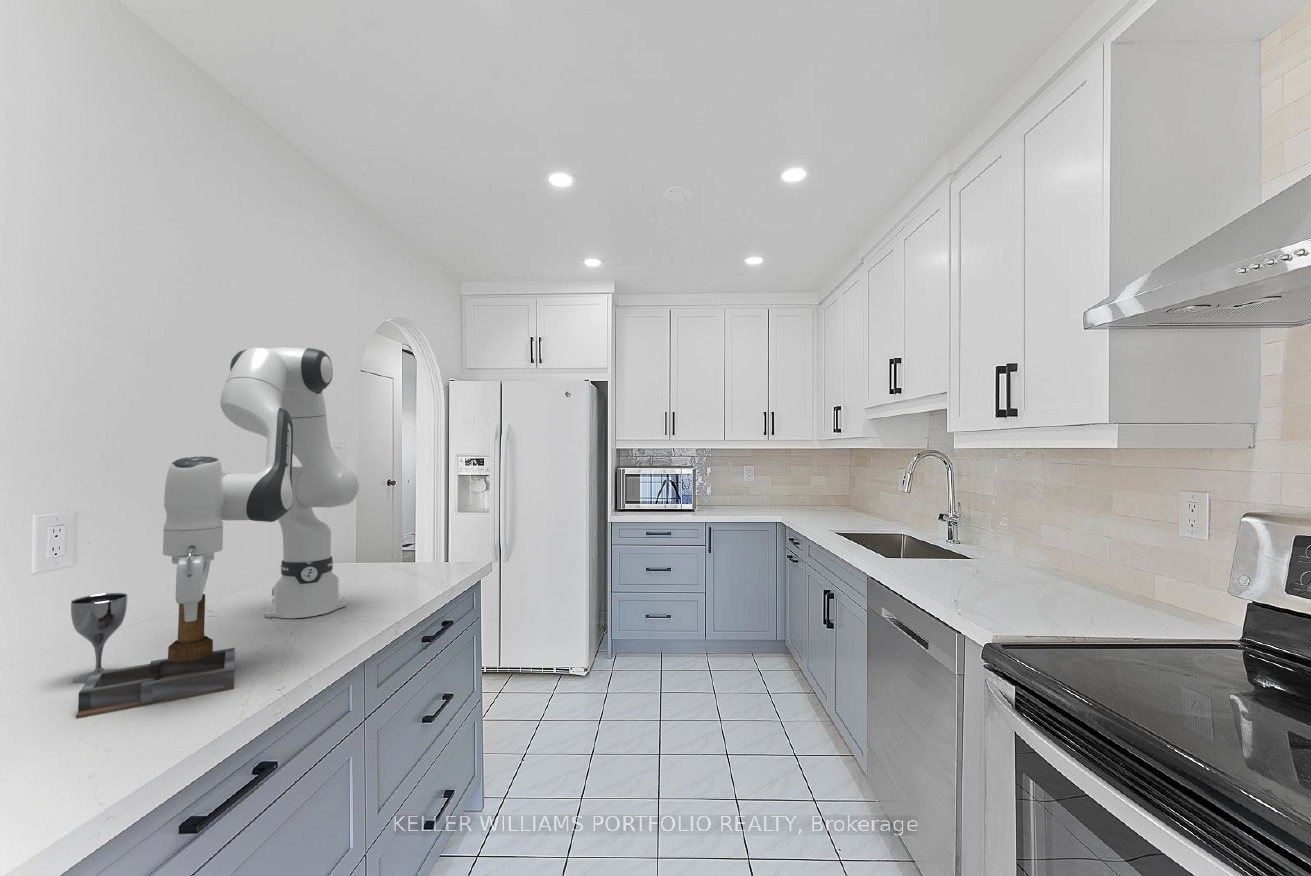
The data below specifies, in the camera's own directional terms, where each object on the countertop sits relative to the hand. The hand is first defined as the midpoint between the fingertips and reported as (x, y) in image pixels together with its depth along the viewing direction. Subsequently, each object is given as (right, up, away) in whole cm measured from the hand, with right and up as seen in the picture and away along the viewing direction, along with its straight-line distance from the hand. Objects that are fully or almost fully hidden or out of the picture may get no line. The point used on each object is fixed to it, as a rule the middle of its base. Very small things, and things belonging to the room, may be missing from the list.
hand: (191, 617), depth 110 cm
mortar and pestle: (0, -7, 0) cm, 7 cm away
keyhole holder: (-3, -13, -2) cm, 13 cm away
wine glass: (-21, -13, +4) cm, 25 cm away
